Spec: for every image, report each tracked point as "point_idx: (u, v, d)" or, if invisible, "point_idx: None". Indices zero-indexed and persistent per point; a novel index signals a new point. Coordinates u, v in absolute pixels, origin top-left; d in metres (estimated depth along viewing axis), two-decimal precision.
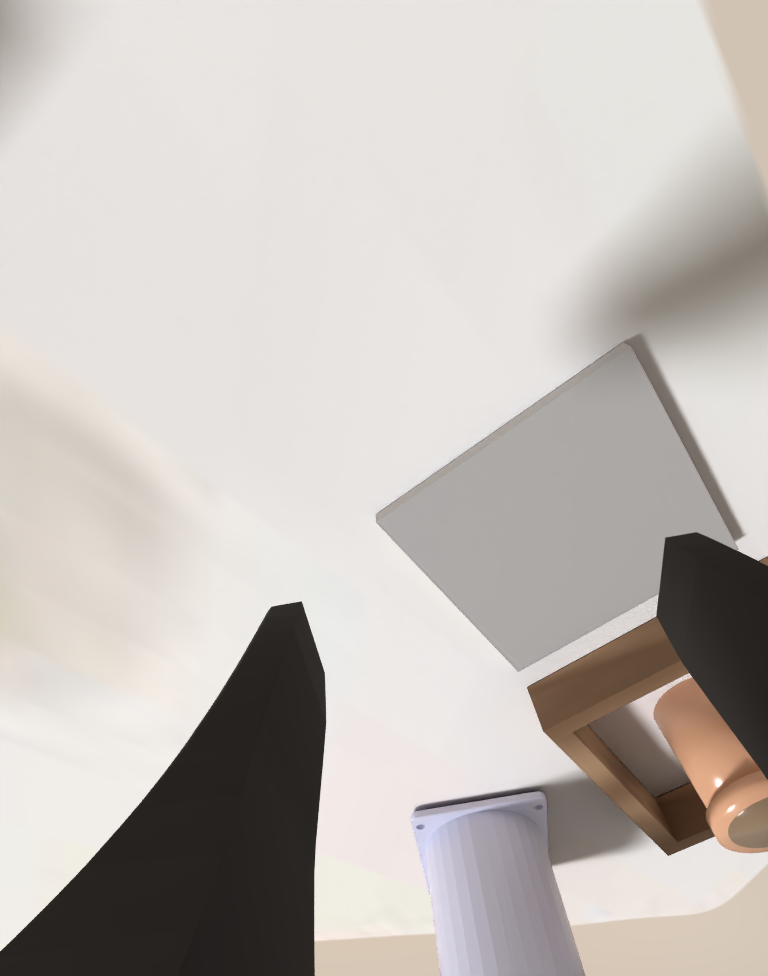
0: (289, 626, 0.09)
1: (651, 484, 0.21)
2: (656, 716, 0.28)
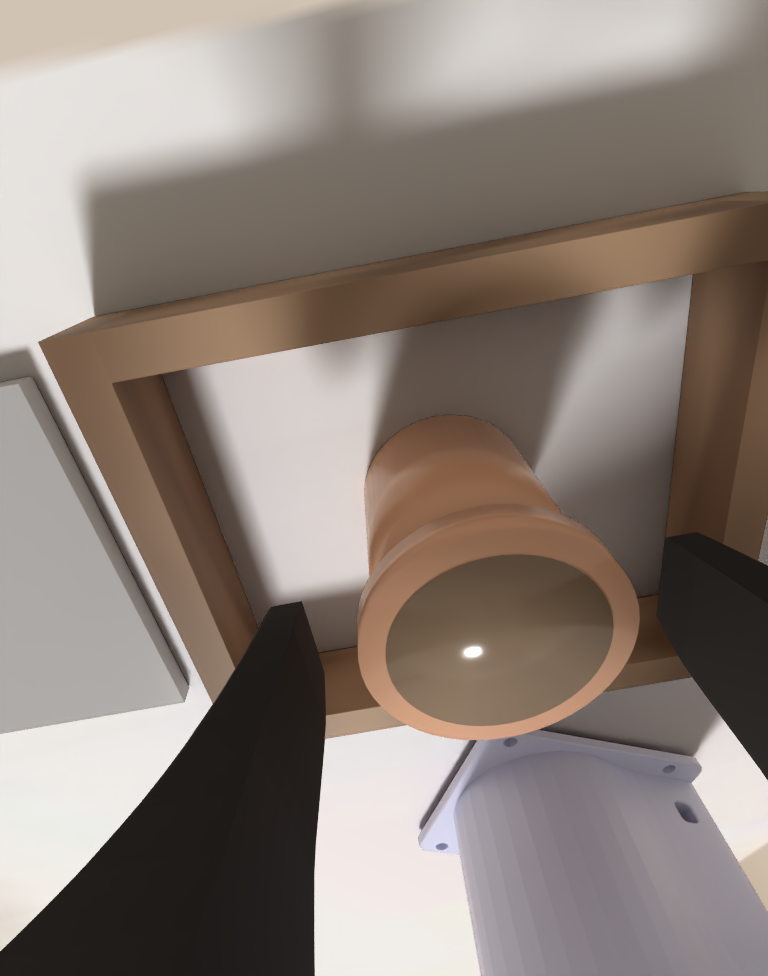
0: (289, 626, 0.09)
1: None
2: None
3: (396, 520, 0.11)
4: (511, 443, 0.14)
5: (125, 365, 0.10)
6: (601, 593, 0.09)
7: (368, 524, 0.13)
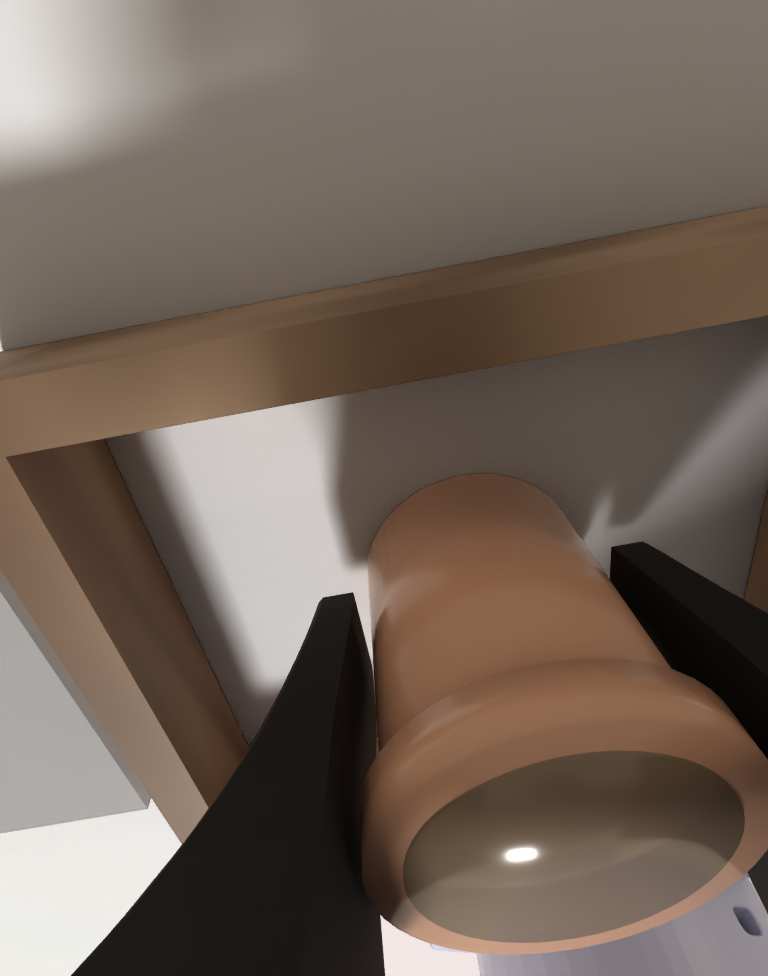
0: (346, 616, 0.09)
1: None
2: None
3: (416, 649, 0.08)
4: (560, 512, 0.10)
5: (23, 432, 0.07)
6: (733, 793, 0.06)
7: (374, 628, 0.10)
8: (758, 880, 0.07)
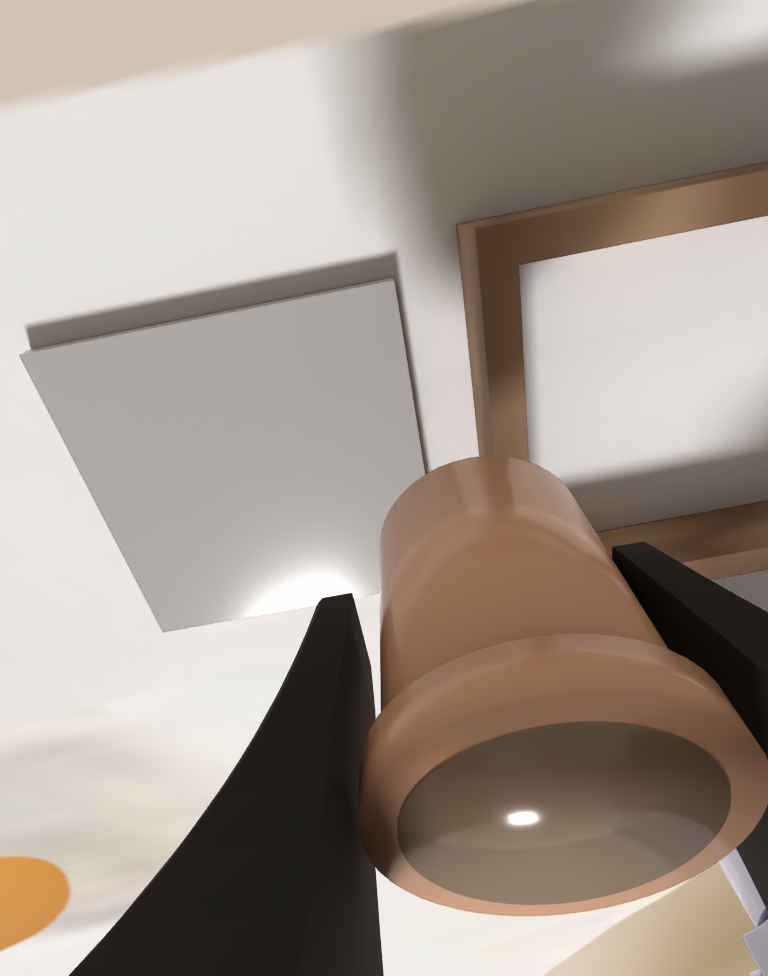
0: (344, 616, 0.09)
1: (223, 373, 0.16)
2: None
3: (418, 621, 0.08)
4: (570, 496, 0.11)
5: (534, 249, 0.13)
6: (719, 769, 0.06)
7: (381, 602, 0.10)
8: (759, 880, 0.07)
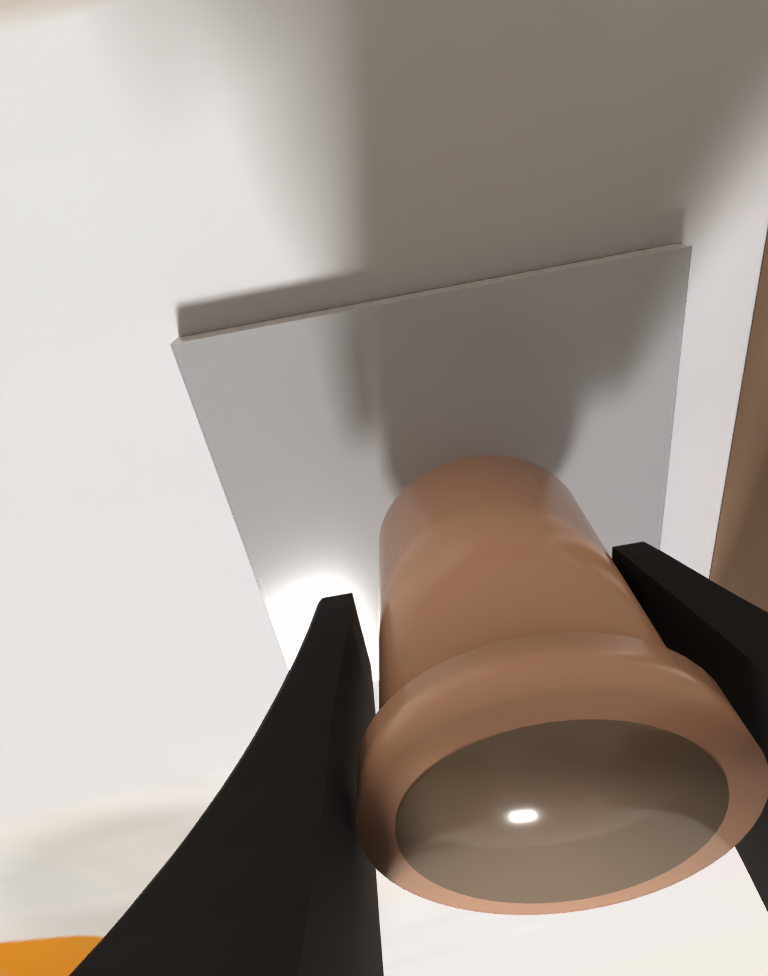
0: (345, 616, 0.09)
1: (438, 372, 0.12)
2: None
3: (416, 620, 0.08)
4: (569, 495, 0.11)
5: None
6: (717, 768, 0.06)
7: (380, 601, 0.10)
8: (759, 880, 0.07)
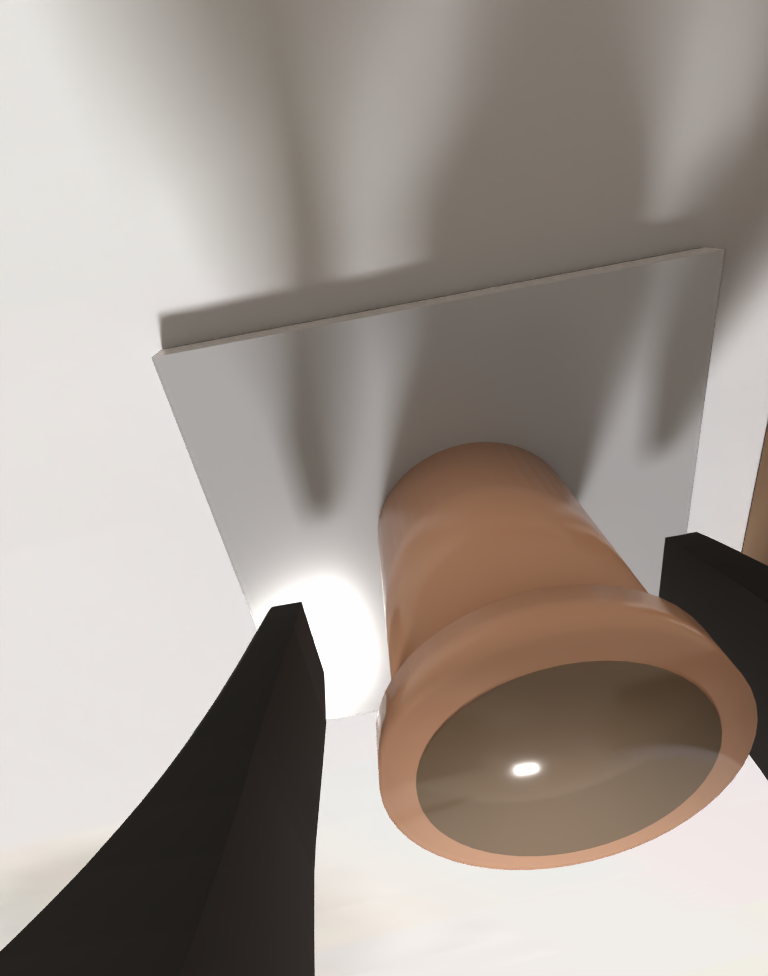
0: (289, 626, 0.09)
1: (445, 387, 0.11)
2: None
3: (425, 590, 0.08)
4: (558, 477, 0.11)
5: None
6: (711, 705, 0.07)
7: (385, 581, 0.10)
8: None
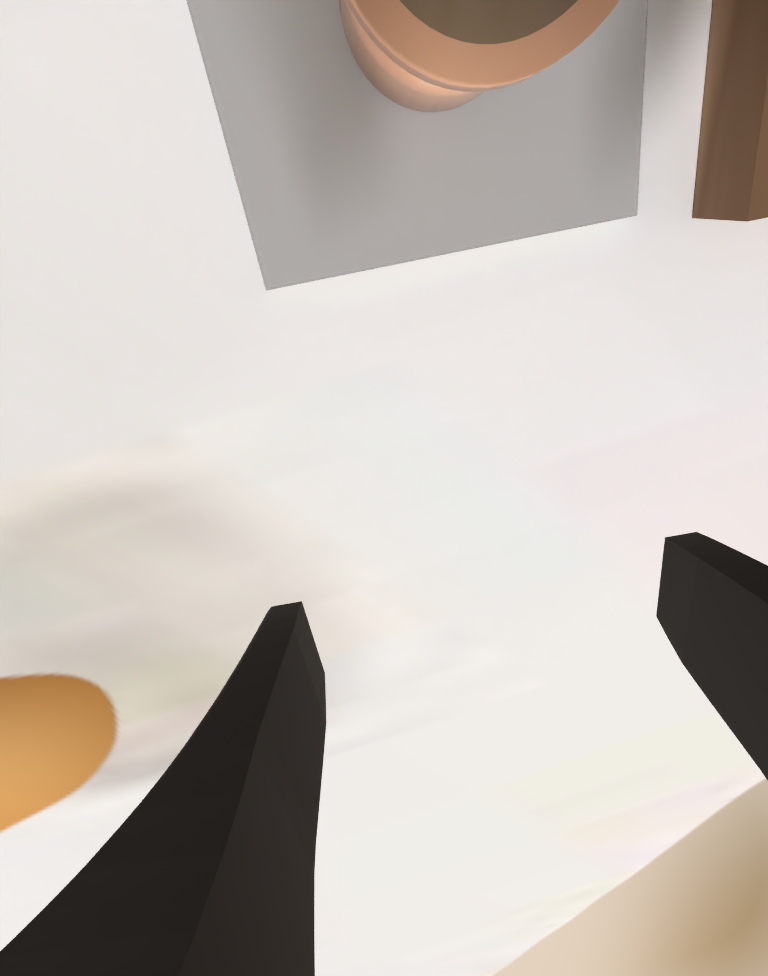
0: (289, 626, 0.09)
1: None
2: (402, 104, 0.13)
3: None
4: None
5: None
6: None
7: None
8: None
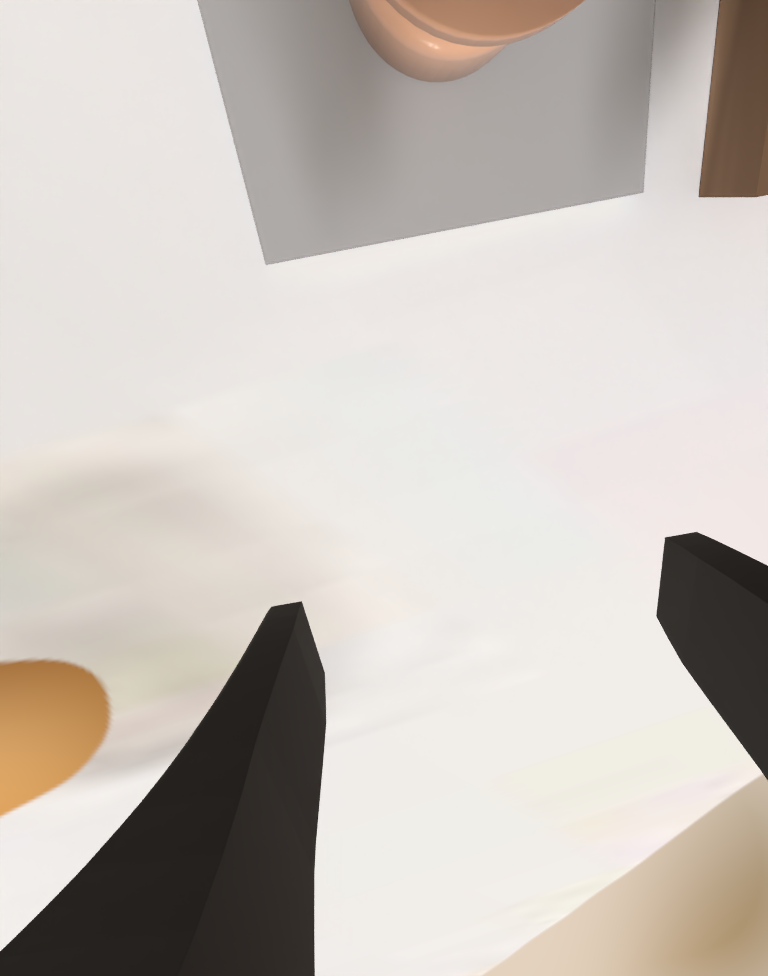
0: (289, 626, 0.09)
1: None
2: (407, 73, 0.13)
3: None
4: None
5: None
6: None
7: None
8: None
